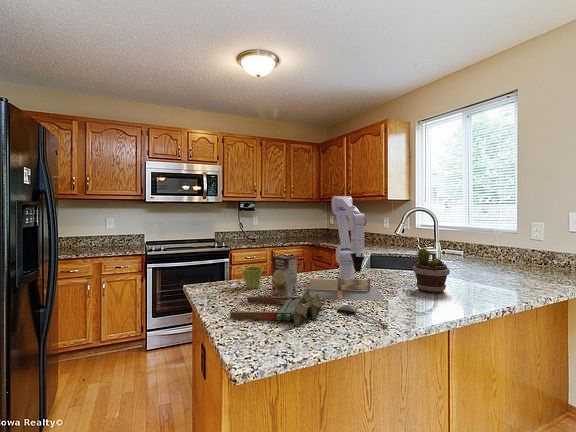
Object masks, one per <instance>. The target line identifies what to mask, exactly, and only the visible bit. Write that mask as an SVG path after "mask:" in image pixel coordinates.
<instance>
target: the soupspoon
mask: <svg viewBox="0 0 576 432" xmlns="http://www.w3.org/2000/svg"><path fill="white" fill-rule="evenodd" d="M336 311H344V312H345V311H347V312H353V313H356V314H359V315H361V316H364V317H366V318H368V319H371V320H373V322H376V323H378V324H379V325H380V326H381V327H382V329H388V327H389V325H388V324H387V323H384V322H381V321H380V320H377V319H376V318H375V317H374V318H373V317H371V316H369V315H367V314H365V313H363V312H362V311H361V312H360V311H358V308H357V307H356V306H354V305H351V304H346V305H345V304H344V305H341V306H339V308H337V309H336Z"/></svg>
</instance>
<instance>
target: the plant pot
mask: <svg viewBox="0 0 576 432" xmlns="http://www.w3.org/2000/svg"><path fill="white" fill-rule="evenodd" d="M263 270H264V267H261V266H248V267H246V266H245V267H243V268H242V272H243V274H244V281H245V288H247V289H248V290H249V289H250V290H254V289H259V288H260V287H261V286H260V285H261V279H262V273H263Z"/></svg>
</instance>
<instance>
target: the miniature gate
mask: <svg viewBox="0 0 576 432" xmlns="http://www.w3.org/2000/svg"><path fill="white" fill-rule="evenodd" d="M303 294H304V293H303ZM303 294H302V296H303V297H302V296H301V295H299V296H294V295H292V296H289V297H286V296H248V297H246V299H247V303H249V304H264V305H268V304H269V305H270V304H271V305H272V304H275V305H276V304H277V305H279V304H282V307H281V308H278V310H274V311H272V310H270V311H261V310H260V311H230V312H229V317H230V319H239V320H250V321H251V320H257V321H258V320H259V321H261V320H263V321H264V320H265V321H266V320H267V321H268V320H269V321H271V320H272V321H273V320H274V321H275V320H276V321H281V320H283V321H291V320H293V323H294V326H295V328H296V329H297V328H299V327H300V325H301V323H302V322H303V321H304V319H308V316H307V314H308V313H310V316H311V319H312V322H316V319H317V316H318V315H319V313H320V312H324V309H323V306H325V305H326V304H325V302H321V300H320V298H319V296H318V294H317V295H316V296H315V298H312V297H311V296H310V294H309V289H307V291H306V292H305V294H304V295H303Z"/></svg>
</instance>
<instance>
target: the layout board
mask: <svg viewBox="0 0 576 432" xmlns="http://www.w3.org/2000/svg"><path fill="white" fill-rule="evenodd" d="M307 289H309V294H310V296H311V297H312V298H315V296H316V295H317V294H318V296H319V299H329V300H349V301H374V302H375V301H376V302H386V301H385V299H384V297H383V295H382V294H381V292H380V290H379V288H378V287H377V286H370V291H367V290H342V282H341V278H340V277H339V276H338V277H337V278H336V279H335V278H314V277H313V278H309V284H306V285H305V288H304V291H303V294H302V296H301V297H303V295H304V294H305V292H306V291H307Z"/></svg>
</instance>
